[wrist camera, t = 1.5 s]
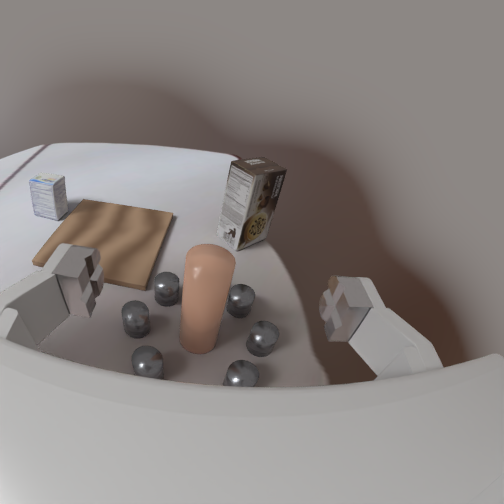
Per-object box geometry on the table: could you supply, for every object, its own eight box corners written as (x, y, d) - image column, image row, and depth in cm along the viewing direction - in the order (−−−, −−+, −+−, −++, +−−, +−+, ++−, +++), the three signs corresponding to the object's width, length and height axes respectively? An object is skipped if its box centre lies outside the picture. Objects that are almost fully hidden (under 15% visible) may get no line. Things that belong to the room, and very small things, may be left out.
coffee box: (245, 223, 62) (263, 156, 52) (266, 238, 59) (289, 169, 50) (214, 234, 56) (230, 159, 46) (236, 252, 53) (256, 173, 43)
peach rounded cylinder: (177, 350, 33) (182, 271, 25) (182, 321, 37) (190, 240, 29) (215, 356, 34) (235, 280, 26) (217, 326, 38) (236, 248, 30)
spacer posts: (109, 376, 27) (103, 363, 25) (142, 274, 42) (142, 258, 40) (275, 400, 31) (285, 389, 29) (266, 295, 46) (272, 279, 44)
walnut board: (33, 264, 36) (32, 260, 36) (83, 203, 54) (83, 199, 53) (145, 290, 40) (144, 286, 39) (172, 217, 57) (173, 213, 57)
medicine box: (69, 211, 50) (65, 175, 45) (57, 222, 47) (52, 184, 42) (45, 205, 50) (41, 171, 45) (33, 215, 46) (28, 180, 41)
